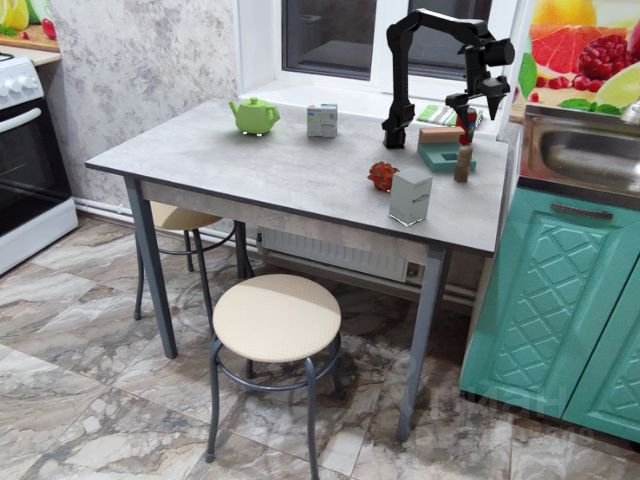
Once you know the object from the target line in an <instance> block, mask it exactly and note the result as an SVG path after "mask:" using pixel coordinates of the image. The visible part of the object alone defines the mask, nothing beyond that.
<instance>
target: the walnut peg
mask: <svg viewBox="0 0 640 480" xmlns="http://www.w3.org/2000/svg"><path fill="white" fill-rule="evenodd" d="M473 154H474V149H473V148H472V147H471V146H468V145H462V147H460V148H459V152H458V158H457V163H456V169H455V171H454V175H453V181H455V182H456V181H457V183H460V182H464V183H466V182H468V178H469V173H470V170H469V169H470V164H471V159H472V157H473Z"/></svg>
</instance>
